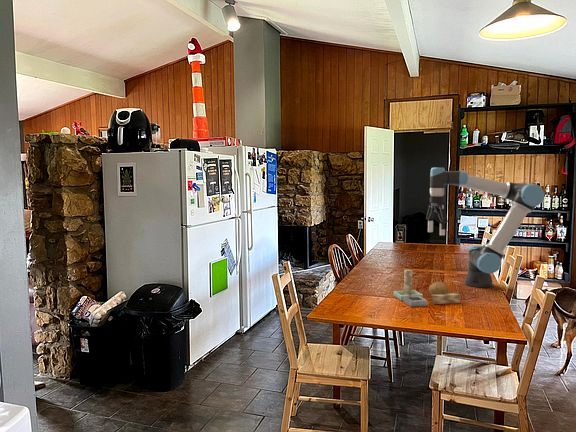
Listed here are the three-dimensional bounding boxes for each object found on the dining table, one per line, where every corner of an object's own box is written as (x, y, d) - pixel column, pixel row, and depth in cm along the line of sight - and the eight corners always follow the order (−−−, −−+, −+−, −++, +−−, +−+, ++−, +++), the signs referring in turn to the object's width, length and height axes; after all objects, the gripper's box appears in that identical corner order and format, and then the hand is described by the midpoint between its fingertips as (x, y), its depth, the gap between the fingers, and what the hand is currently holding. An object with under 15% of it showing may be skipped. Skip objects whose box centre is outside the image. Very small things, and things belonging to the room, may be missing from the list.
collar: (419, 300, 234) (419, 295, 234) (427, 305, 226) (427, 300, 225) (403, 301, 233) (403, 296, 233) (410, 306, 224) (410, 301, 224)
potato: (426, 301, 234) (427, 285, 233) (430, 294, 247) (430, 279, 246) (446, 303, 230) (447, 287, 229) (449, 296, 243) (449, 281, 242)
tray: (414, 294, 246) (414, 290, 246) (422, 299, 236) (422, 294, 236) (393, 295, 244) (393, 291, 244) (401, 300, 234) (401, 296, 234)
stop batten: (456, 300, 234) (457, 293, 233) (460, 302, 231) (460, 294, 230) (431, 302, 231) (431, 294, 231) (434, 304, 228) (434, 296, 228)
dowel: (409, 295, 242) (410, 269, 241) (413, 297, 239) (413, 271, 237) (402, 295, 242) (403, 269, 241) (405, 297, 238) (406, 271, 237)
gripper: (420, 194, 263) (419, 231, 265) (441, 196, 239) (440, 236, 241) (432, 194, 264) (431, 230, 266) (455, 196, 240) (454, 236, 242)
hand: (436, 233), depth 254 cm, fingers open, 13 cm apart
